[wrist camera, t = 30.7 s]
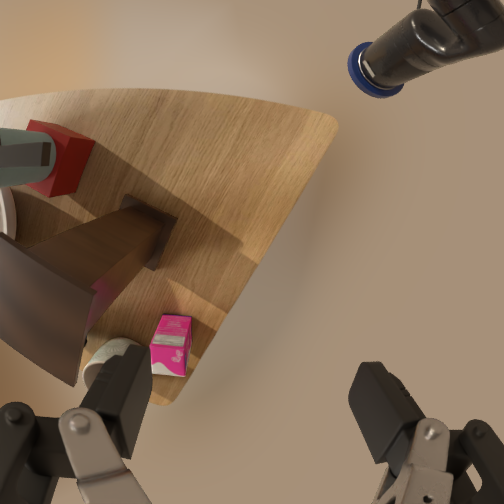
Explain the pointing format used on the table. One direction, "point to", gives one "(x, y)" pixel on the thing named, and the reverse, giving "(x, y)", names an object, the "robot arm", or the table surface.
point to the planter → (104, 357)
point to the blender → (61, 158)
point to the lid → (25, 154)
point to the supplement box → (171, 345)
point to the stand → (74, 282)
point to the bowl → (7, 212)
